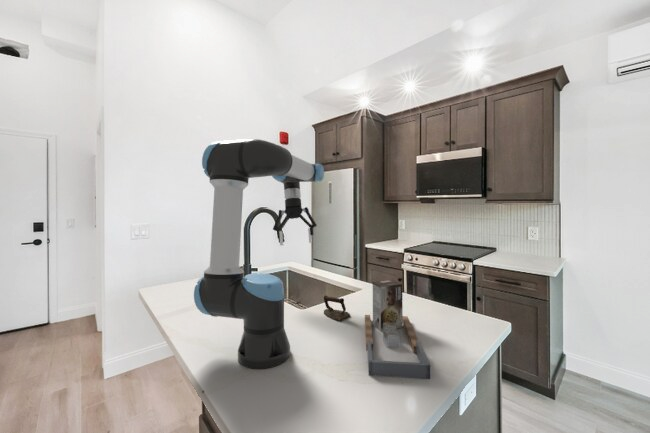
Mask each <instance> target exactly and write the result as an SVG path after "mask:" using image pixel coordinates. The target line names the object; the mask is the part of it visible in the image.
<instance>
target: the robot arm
mask: <svg viewBox="0 0 650 433" xmlns="http://www.w3.org/2000/svg"><path fill="white" fill-rule="evenodd" d="M201 158H202V159H201V166H202V169H203V172H204V174H205V176H207V177H208V178H209V183H210V184H211V186H212V187H213V188H214V189H213V204H212V205H213V207H212V210H213V211H212V224H211V225H212V226H211V238H210V240H211V241H210V242H211V243H210V257H209V266H208V267H207V268H206V269H205V270H204V272H203V276H201V277H200V278H199V279H198V280H197V282H196V285H194V289H193V299H194V305H195V306H196V308H197V310H198V311H199V312H201V313H202V315H203V314H204V315H208V316H211V317H214V318H216V317H217V318H218V317H221V318H231V319H239V320H243V332H242V336H241V338H240V339H241V340H240V343H239V346H238V348H237V360H238V363H239V364H240V365H242V366H243V367H246V368H249V369H258V370H259V369H269V368H270V369H271V368H273V367H276V366H278V365H281V364H282V363H284V362H286V361H287V360H288V358H290V356H291V344H290V342H289V338H288V335H287V332H286V329H285V290H284V282H283V280H281V279H280V277H278V276H277V275H273V274H269V273H261V272H260V273H257V272H256V273H254V272H253V273H249V274H246V275H245V274H244V273H245V271H244V270H243V269H242V268H241V266H240V259H241V258H240V256H241V253H240V252H241V236H242V220H243V219H242V217H243V199H244V190H245V189H246V188H247V187H248V186H249V179H251V178H252V179H255V178H263V177H272V178H273V179H274V180H275V181H277V182H280V183H282V184H283V190H284V192H283V194H284V199H285V200H284V205H285V206H284V207H285V208H284V209H285V210H284V209H283V210H281V209H279V210H278V214H277V217H276V220H275V223H274V225H273V227H272V230H273V231H275V232H276V233H277V236H276V237H277V239H279V246H284V238H283V236H284V234H283V233H284V232H283V231H282V230H283V228H284V227H285V226H286V224H287V222H288V221H289V220H290V219H291V220H294V219H299V218H300V219H301V220H302V221H303V222H304V223H305V225H306V226H308V227H307V228H308V230H307V231H308V232H307V233H308V243H309V244H312V242H313V241H312V236H314V228H316V227H318V226H317V223H316V221H315V220H314V218H313V216H312V215H311V213H310V210H309V208H308V207H307V206H306V207H302V199H301V197H302V196H301V194H302V193H301V184H300V183H301V182H303V183H304V182H305V183H306V182H307V183H311V182H312V183H313V182H315V183H316V182H322V181H323V180H324V177H325V170H324V169H325V168H324V166H323V164H322V163H310V162H308V161H306V160H303V159H301V158H299V157H298V156H295V155H293V154H292V153H291V152H290V151H289V150H288V149H287V148H286V147H284V146H281V145H279V144H276V143H274V142H271V141H268V140H263V139H258V138H250V139H236V140H225V139H224V140H220V141H214V142H211V143H210V144H209V145H208V146H207V147H206V148H205V149H204V152H203V153H202V156H201ZM303 212H304V213H306V216H307V217H308V219H309V220H310V221H308V220H307V219H306V218H305V217H304V216H303V215H302V214H303ZM284 214H285V217H284V219H283V220H282V218H283V216H284ZM281 220H282V221H281ZM310 222H311V223H312V224H311V223H310ZM244 275H245V276H244Z"/></svg>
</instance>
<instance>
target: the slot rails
mask: <svg viewBox="0 0 650 433" xmlns="http://www.w3.org/2000/svg"><path fill="white" fill-rule="evenodd" d="M371 320H372V319H371V315H370V314H364V329H365V347H366V349H365V350H366V351H367V339H371V349H372V352H373V351H374V341H373V331H372V322H371ZM402 321H403V328H404V330H405V333H406V336H407V339H408V342H409V344H410V347H411V349H412V352H413V354H416V342H419V340H418V337H417V334H416V333H415V331H414V328H413V326H412V323H411V321H410V319H409V317H408V316H407V315H405V316H404V315H403V317H402Z"/></svg>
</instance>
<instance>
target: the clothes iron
mask: <svg viewBox="0 0 650 433" xmlns="http://www.w3.org/2000/svg"><path fill="white" fill-rule="evenodd" d="M323 301H324V304H325V307H326V308H325V309H324V310H323V314H324V316H325V317H327V318H329V319H331V320H333V321H336V322H340V323H341V322H343V321H345V320H347V319H349V318H351V314H350V313H349V312H348V311H346V310H347V309H346V304H345V303H344V302H345V299H344V297H343V298H340V297H333V296H328V295H327V294H326V295H324V297H323ZM329 302H332V303H337V304H340V306H341V308H342V310H339V309H334V308H333V307H331V306H330V305H329Z"/></svg>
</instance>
